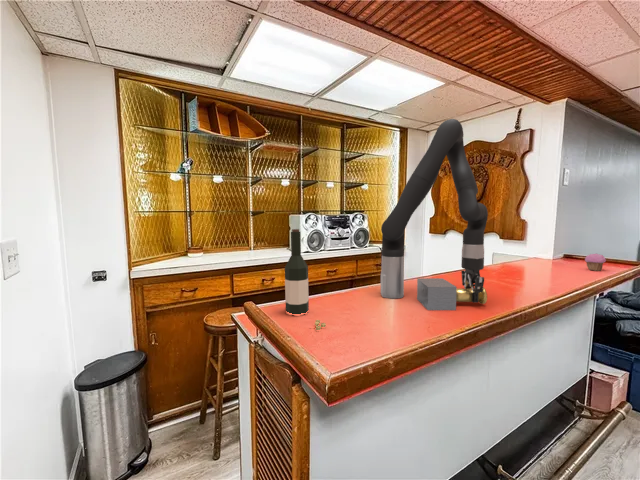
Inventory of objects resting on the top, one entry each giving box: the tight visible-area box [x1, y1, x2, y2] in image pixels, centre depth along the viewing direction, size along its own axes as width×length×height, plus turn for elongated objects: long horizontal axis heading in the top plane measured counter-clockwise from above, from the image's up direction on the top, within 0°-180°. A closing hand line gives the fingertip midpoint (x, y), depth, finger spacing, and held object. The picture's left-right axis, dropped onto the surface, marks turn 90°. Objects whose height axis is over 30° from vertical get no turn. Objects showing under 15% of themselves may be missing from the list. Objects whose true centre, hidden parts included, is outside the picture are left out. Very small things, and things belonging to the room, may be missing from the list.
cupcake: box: [584, 253, 607, 272], centre depth 173 cm, size 9×9×10 cm
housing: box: [416, 277, 458, 311], centre depth 114 cm, size 10×14×9 cm
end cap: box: [456, 286, 488, 305], centre depth 113 cm, size 13×6×6 cm, turn 87°
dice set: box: [314, 319, 327, 331], centre depth 92 cm, size 5×5×2 cm
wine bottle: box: [284, 228, 310, 314], centre depth 105 cm, size 8×8×30 cm
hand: (471, 300), depth 113 cm, fingers closed on end cap, 5 cm apart
